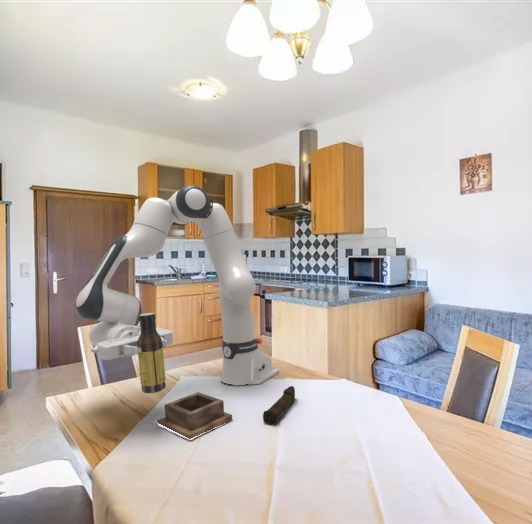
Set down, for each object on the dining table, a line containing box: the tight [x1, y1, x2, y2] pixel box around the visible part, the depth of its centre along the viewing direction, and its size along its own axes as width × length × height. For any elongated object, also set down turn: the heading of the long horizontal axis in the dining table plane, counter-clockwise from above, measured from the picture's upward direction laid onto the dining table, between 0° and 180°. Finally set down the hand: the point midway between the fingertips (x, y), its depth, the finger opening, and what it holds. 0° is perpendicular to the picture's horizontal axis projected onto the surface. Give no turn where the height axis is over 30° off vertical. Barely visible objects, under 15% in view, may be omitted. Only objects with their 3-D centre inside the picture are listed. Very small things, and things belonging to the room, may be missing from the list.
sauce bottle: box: [137, 312, 167, 394], centre depth 96 cm, size 6×6×20 cm
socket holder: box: [156, 391, 233, 439], centre depth 99 cm, size 14×14×6 cm
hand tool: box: [262, 385, 296, 426], centre depth 104 cm, size 19×4×5 cm, turn 154°
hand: (152, 347), depth 96 cm, fingers closed on sauce bottle, 6 cm apart
